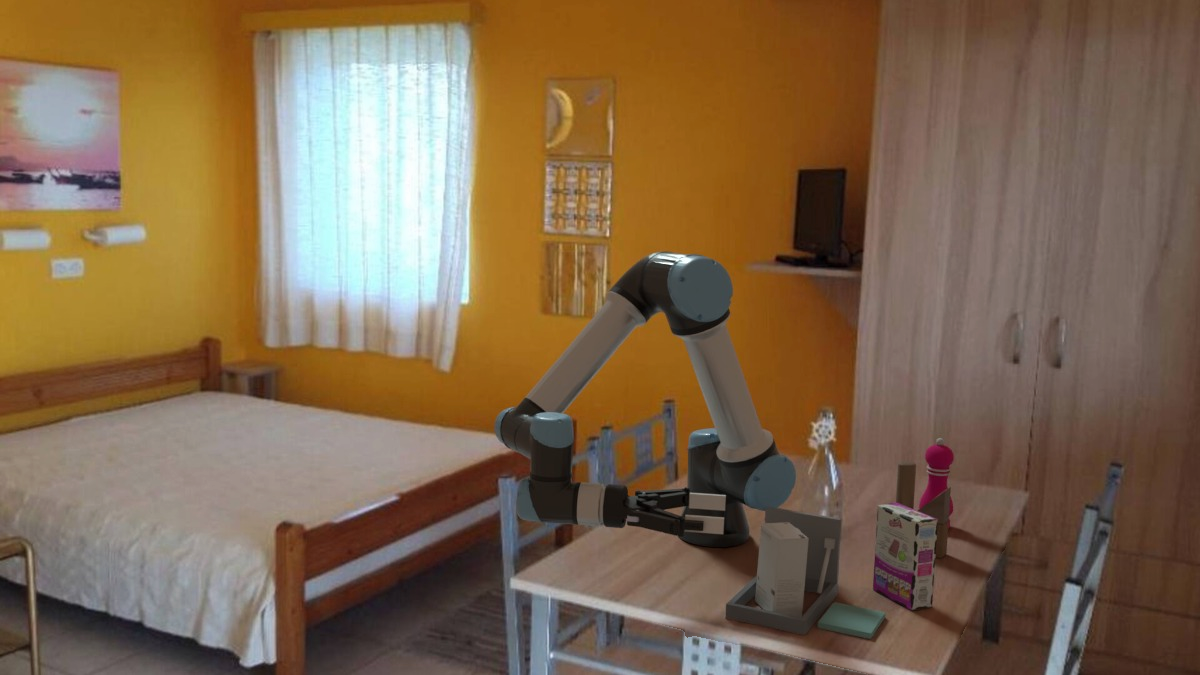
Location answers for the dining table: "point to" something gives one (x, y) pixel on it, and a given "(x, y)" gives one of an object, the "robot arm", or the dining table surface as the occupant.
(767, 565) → the skincare box
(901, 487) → the wooden peg stand
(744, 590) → the case
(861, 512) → the dining table surface
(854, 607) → the pad
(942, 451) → the pepper mill
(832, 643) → the dining table surface
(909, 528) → the candy bar box
